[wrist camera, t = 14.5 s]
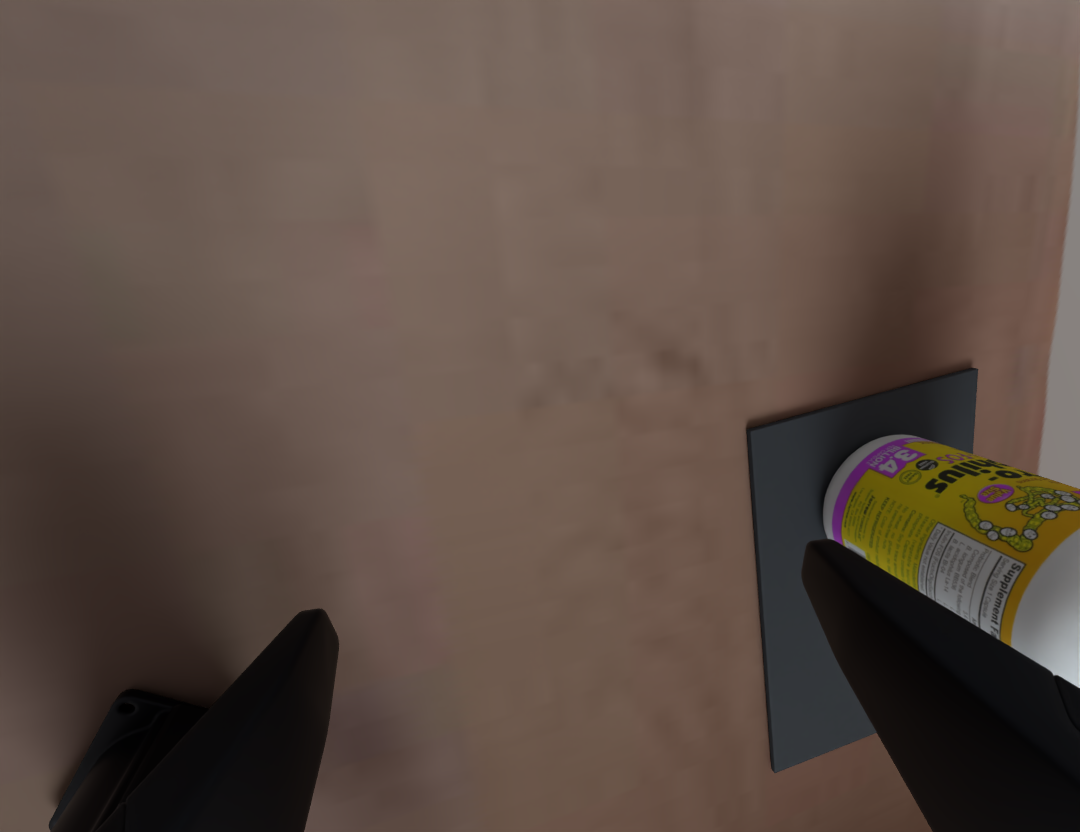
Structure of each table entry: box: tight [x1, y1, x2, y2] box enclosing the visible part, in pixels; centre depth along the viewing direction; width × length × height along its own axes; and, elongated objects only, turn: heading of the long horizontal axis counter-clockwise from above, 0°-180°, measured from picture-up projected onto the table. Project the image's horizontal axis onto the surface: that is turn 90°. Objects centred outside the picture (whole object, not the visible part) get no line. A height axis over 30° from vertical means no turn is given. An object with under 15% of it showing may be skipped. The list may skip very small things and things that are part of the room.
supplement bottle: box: [823, 435, 1080, 688], centre depth 19 cm, size 7×7×13 cm
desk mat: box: [747, 368, 978, 773], centre depth 27 cm, size 20×12×1 cm, turn 11°
